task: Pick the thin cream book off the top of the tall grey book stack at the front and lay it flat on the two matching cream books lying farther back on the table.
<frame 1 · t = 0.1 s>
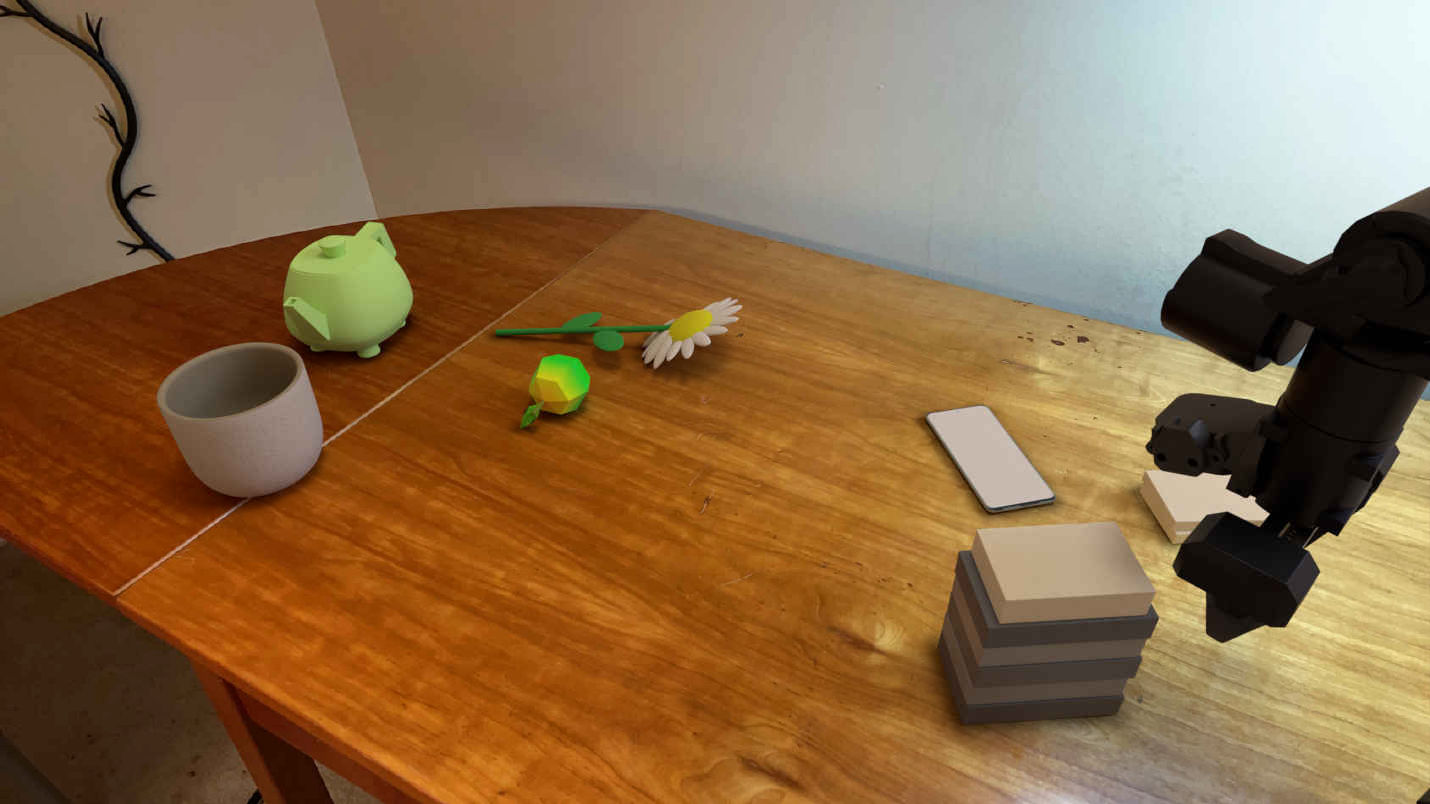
hand: (1244, 597, 60), 13 cm above the table, tool pointing down, fingers open, 9 cm apart
cream stack: (1209, 514, 83), on the table
cream book: (1055, 582, 63), point 11 cm above the table, touching grey stack
planter: (268, 470, 90), on the table
decorative flower: (616, 348, 107), on the table
teapot: (358, 336, 109), on the table
grey stack: (1023, 679, 69), on the table
smartphone: (986, 459, 90), on the table
apple: (557, 413, 97), on the table
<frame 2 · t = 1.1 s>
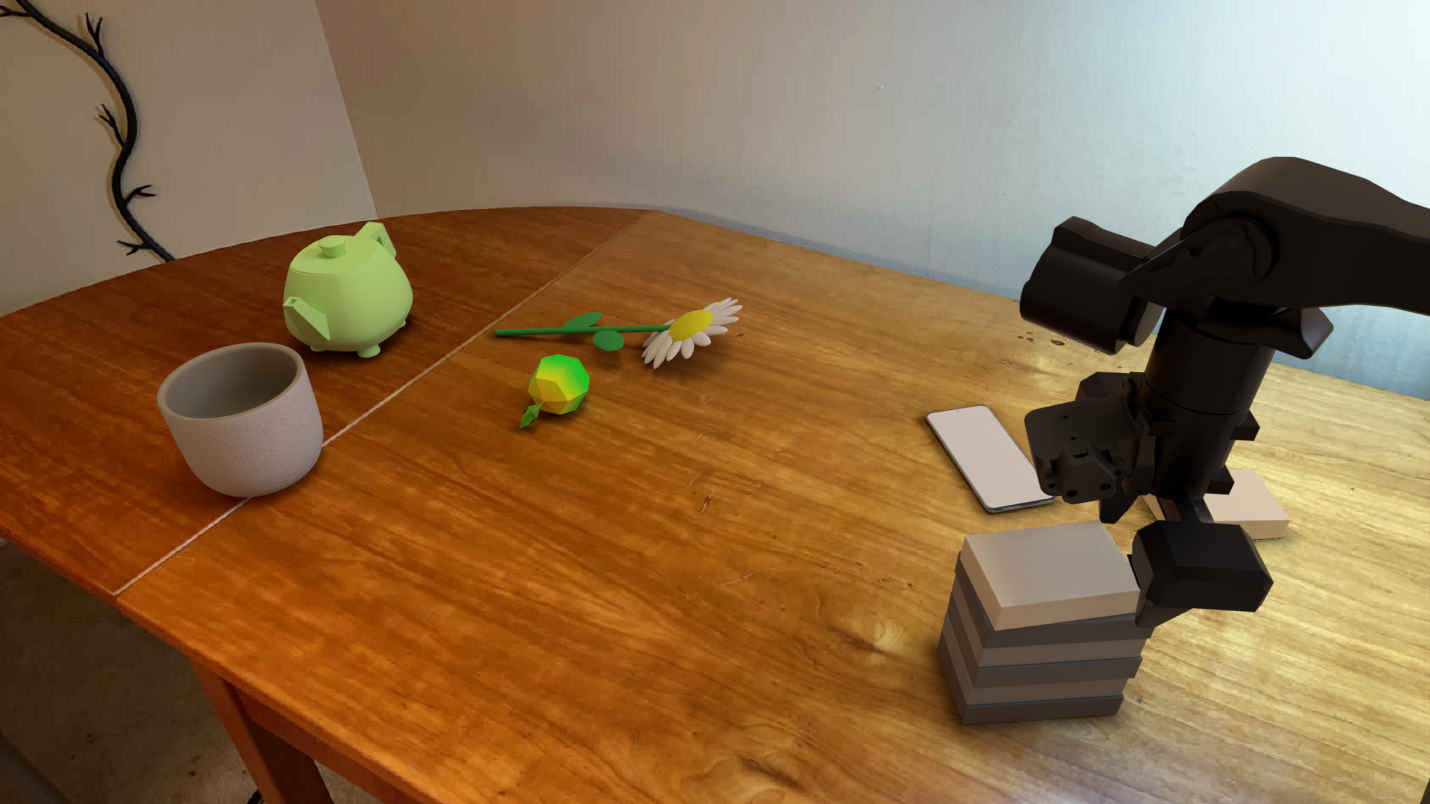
hand: (1124, 571, 61), 13 cm above the table, tool pointing down, fingers open, 9 cm apart
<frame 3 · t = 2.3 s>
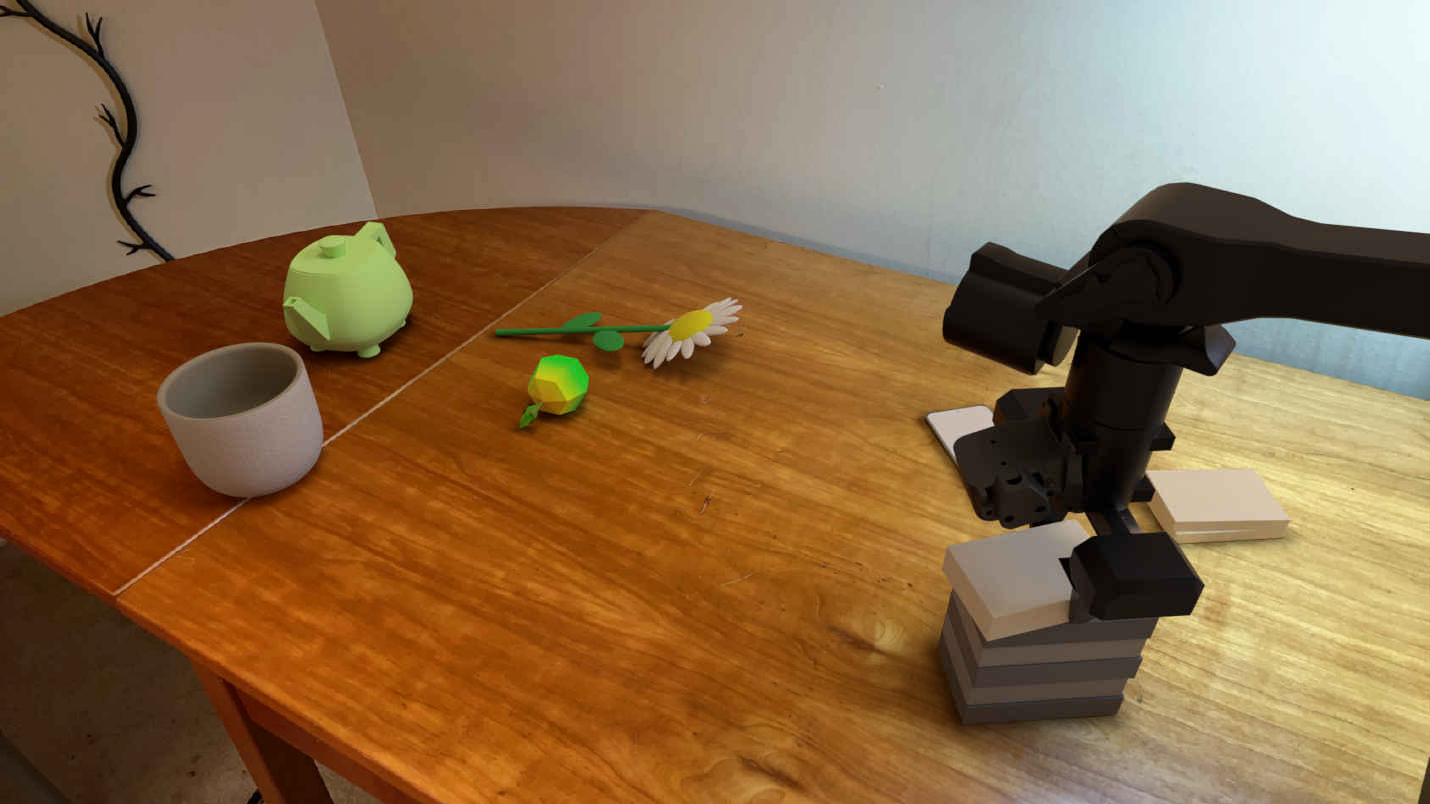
hand: (1056, 580, 63), 11 cm above the table, tool pointing down, fingers closed on cream book, 7 cm apart
cream book: (1029, 589, 62), point 11 cm above the table, touching grey stack, gripper
everything else where it was.
when the fingers open (3 cm above the table, at t = 8.0 s): cream book stays where it is, resting on cream stack.
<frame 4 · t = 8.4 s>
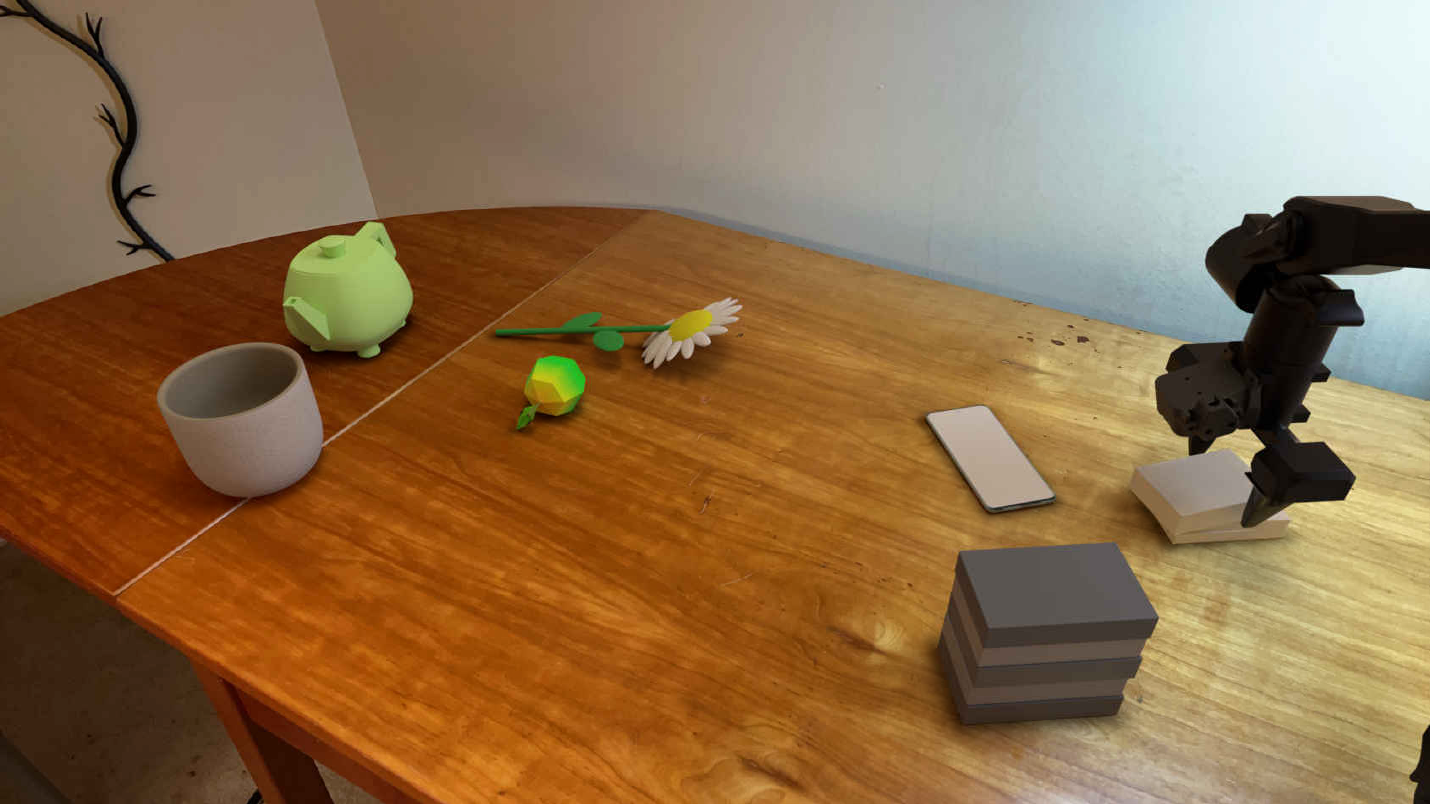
hand: (1219, 490, 82), 3 cm above the table, tool pointing down, fingers open, 9 cm apart
cream book: (1197, 500, 82), point 2 cm above the table, touching cream stack
everything else where it was.
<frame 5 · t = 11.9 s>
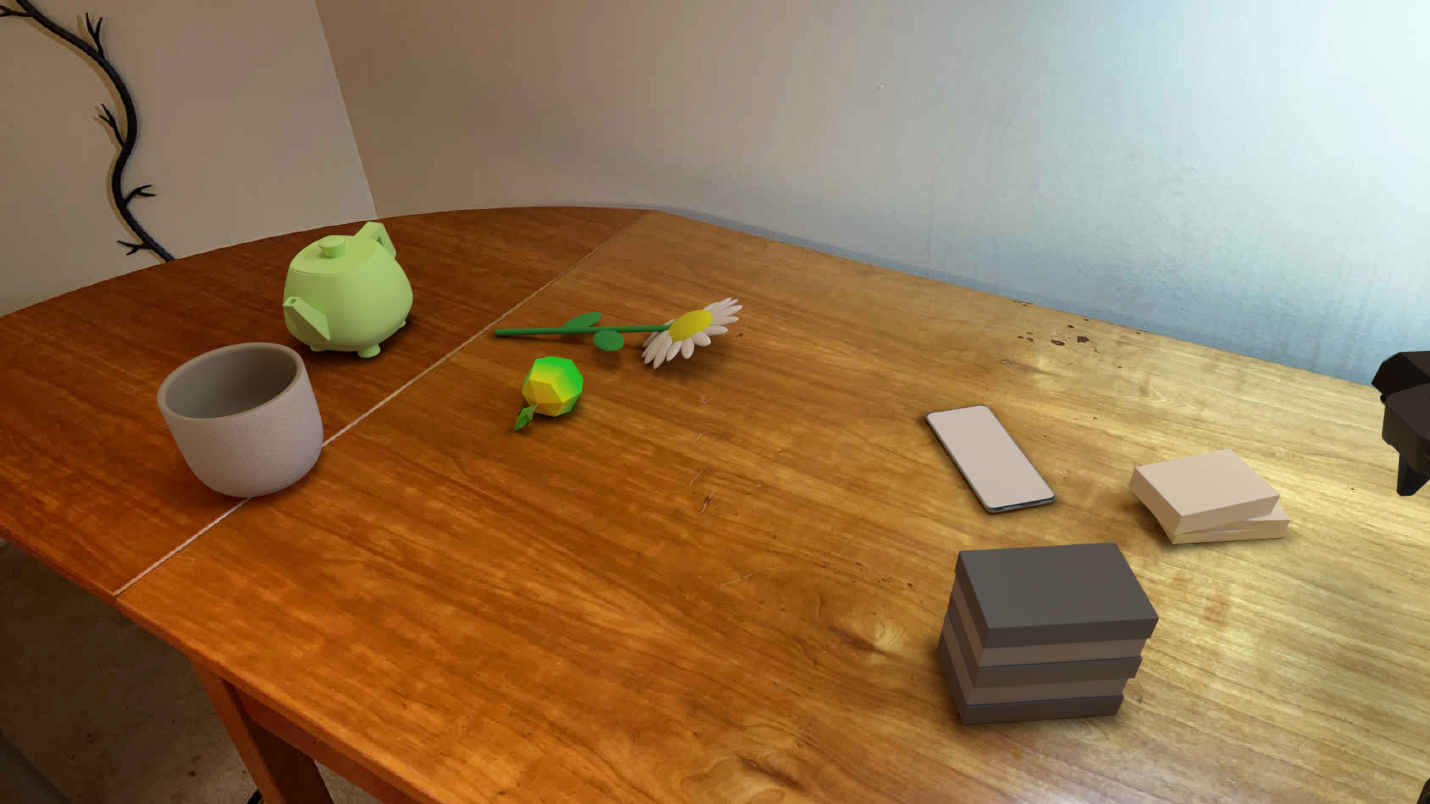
nothing on the table moved.
at the end: cream book 2.2 cm off-centre on the cream stack, point 2.4 cm above the cream stack's base; cream book tilted 0°; the gripper is holding nothing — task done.
